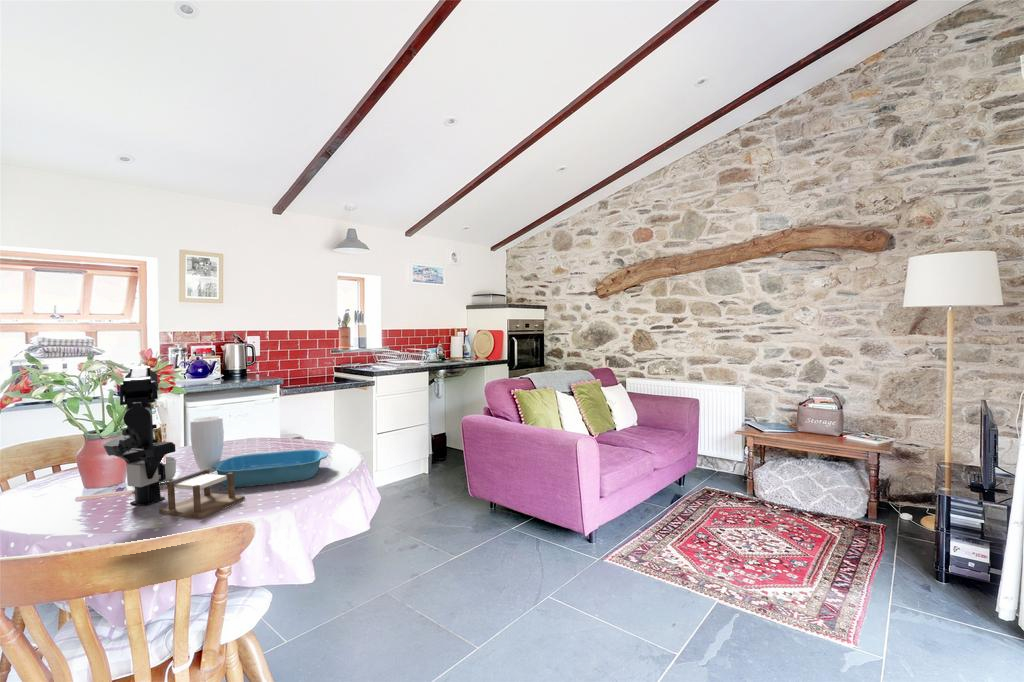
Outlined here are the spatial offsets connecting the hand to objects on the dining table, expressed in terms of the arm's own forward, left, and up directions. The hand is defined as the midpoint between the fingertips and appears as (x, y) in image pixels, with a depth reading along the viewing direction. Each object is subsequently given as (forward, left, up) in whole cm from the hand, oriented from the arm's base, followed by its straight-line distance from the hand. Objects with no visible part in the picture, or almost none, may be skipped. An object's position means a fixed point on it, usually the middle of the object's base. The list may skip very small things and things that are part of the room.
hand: (143, 478), depth 139 cm
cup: (-14, +33, -12) cm, 38 cm away
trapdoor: (+7, +12, -5) cm, 15 cm away
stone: (0, 0, -2) cm, 2 cm away
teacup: (-30, +25, -12) cm, 41 cm away
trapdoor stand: (+7, +12, -12) cm, 18 cm away
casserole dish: (+7, +40, -12) cm, 43 cm away
